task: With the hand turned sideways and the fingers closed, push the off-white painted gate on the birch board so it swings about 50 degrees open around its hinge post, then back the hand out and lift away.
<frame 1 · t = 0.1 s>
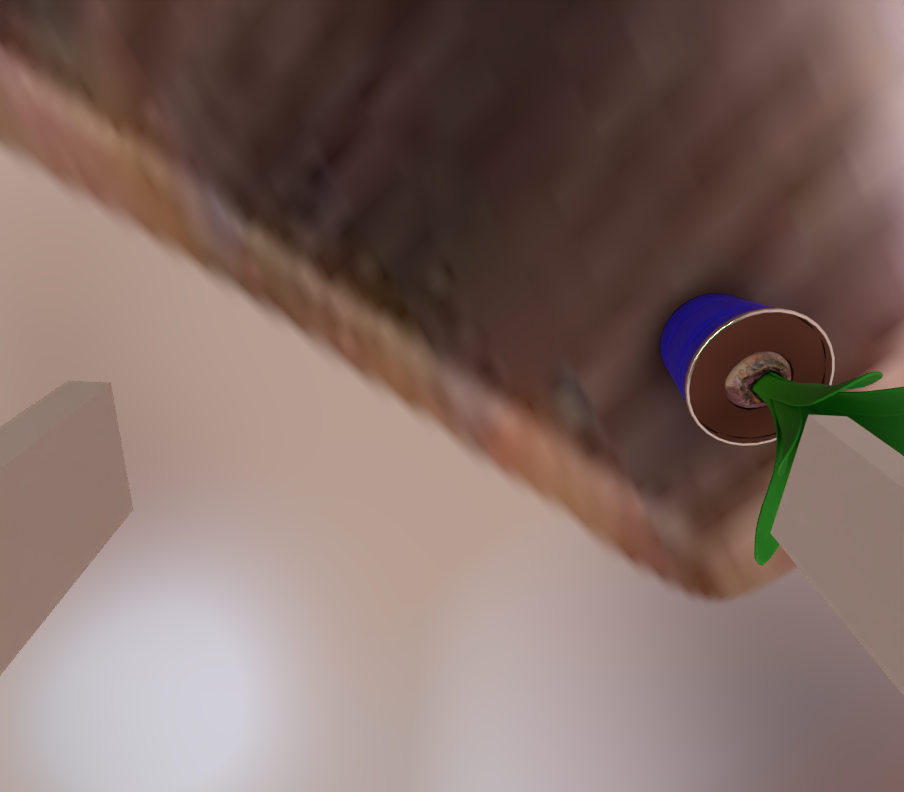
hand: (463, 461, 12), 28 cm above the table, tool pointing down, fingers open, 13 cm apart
hyacinth: (696, 345, 41), on the table
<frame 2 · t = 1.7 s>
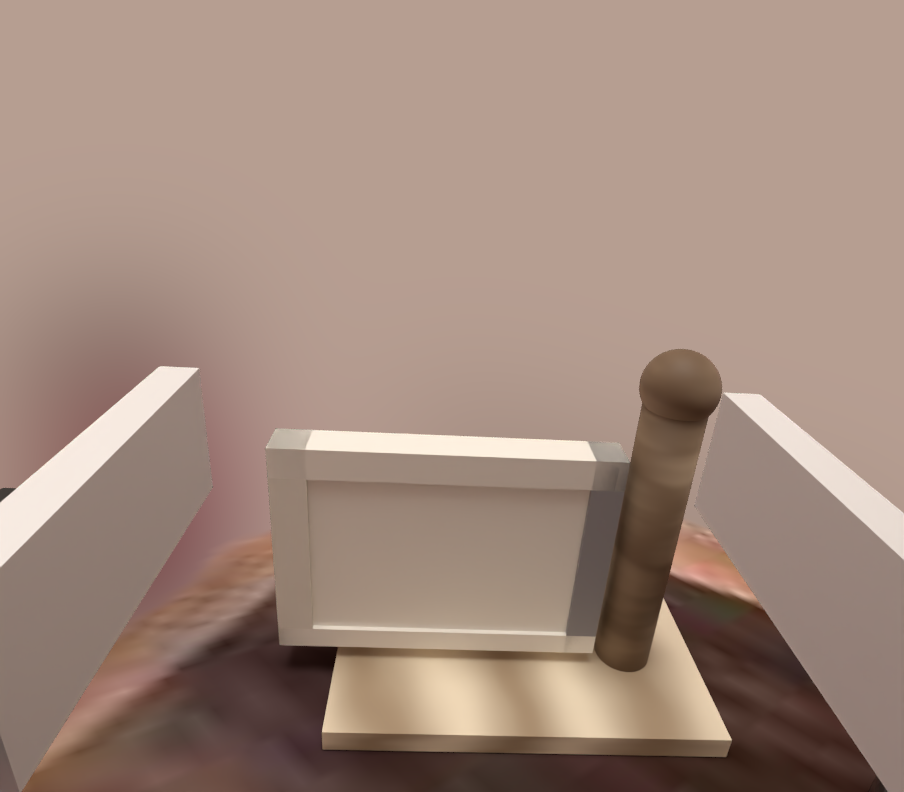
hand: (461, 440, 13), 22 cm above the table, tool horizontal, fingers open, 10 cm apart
gate: (443, 547, 32), point 8 cm above the table, hinge at 0.0°
gate frame: (617, 666, 35), on the table
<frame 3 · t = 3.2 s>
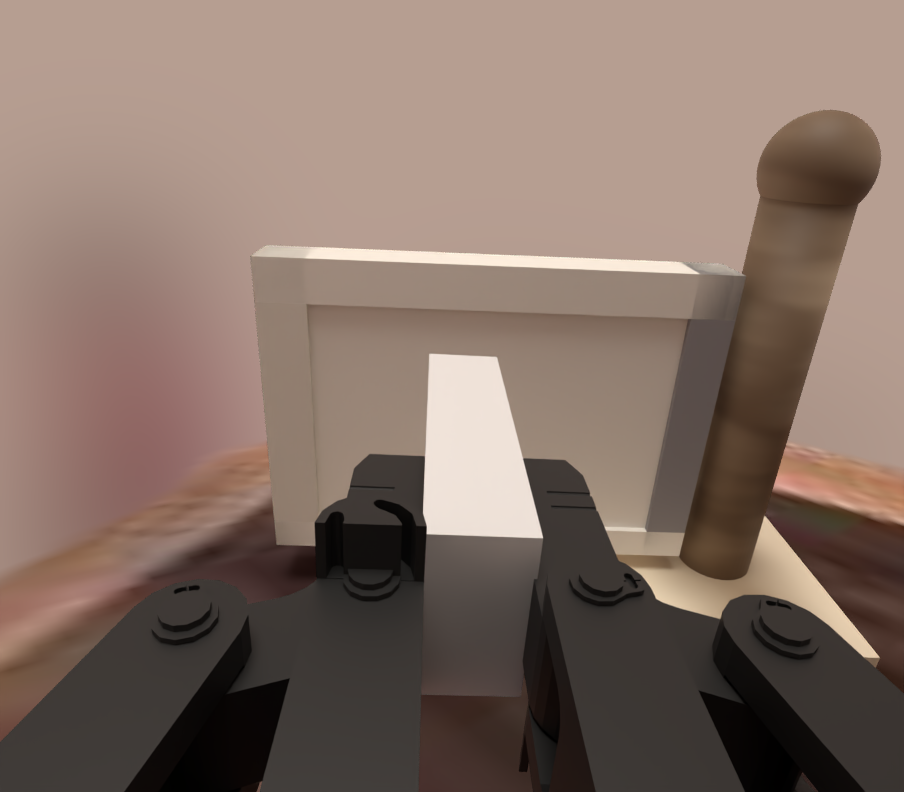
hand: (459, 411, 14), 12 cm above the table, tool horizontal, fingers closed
gate: (487, 411, 24), point 8 cm above the table, hinge at 0.0°
gate frame: (706, 578, 28), on the table
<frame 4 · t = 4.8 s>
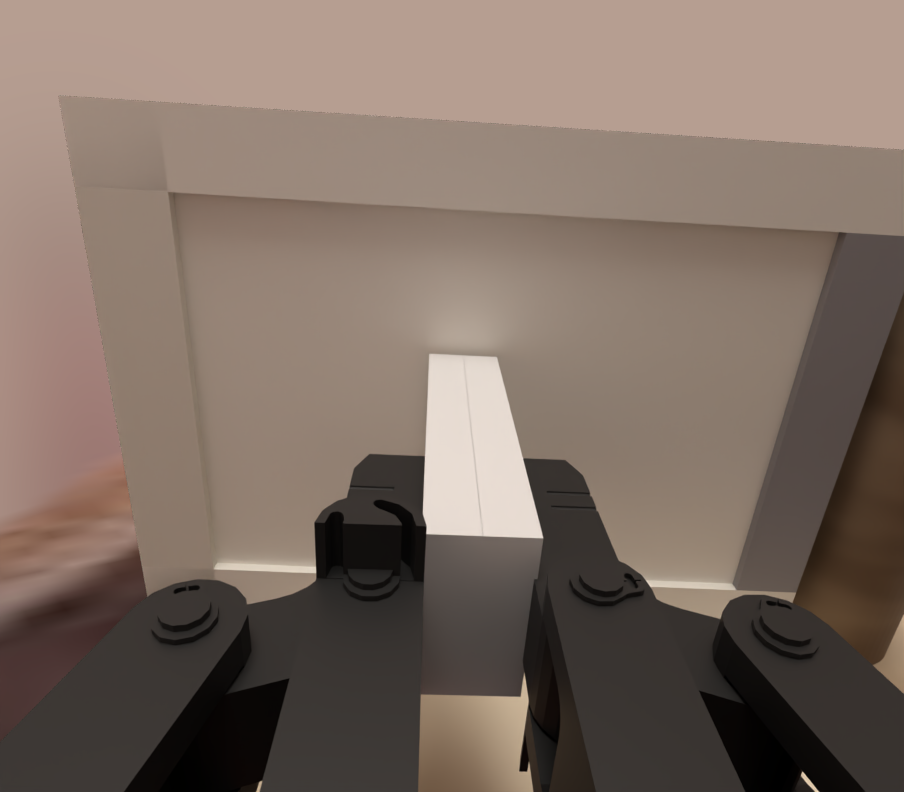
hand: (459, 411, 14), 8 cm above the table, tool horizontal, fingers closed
gate: (487, 394, 15), point 8 cm above the table, hinge at 0.4°, touching gripper
gate frame: (813, 656, 18), on the table
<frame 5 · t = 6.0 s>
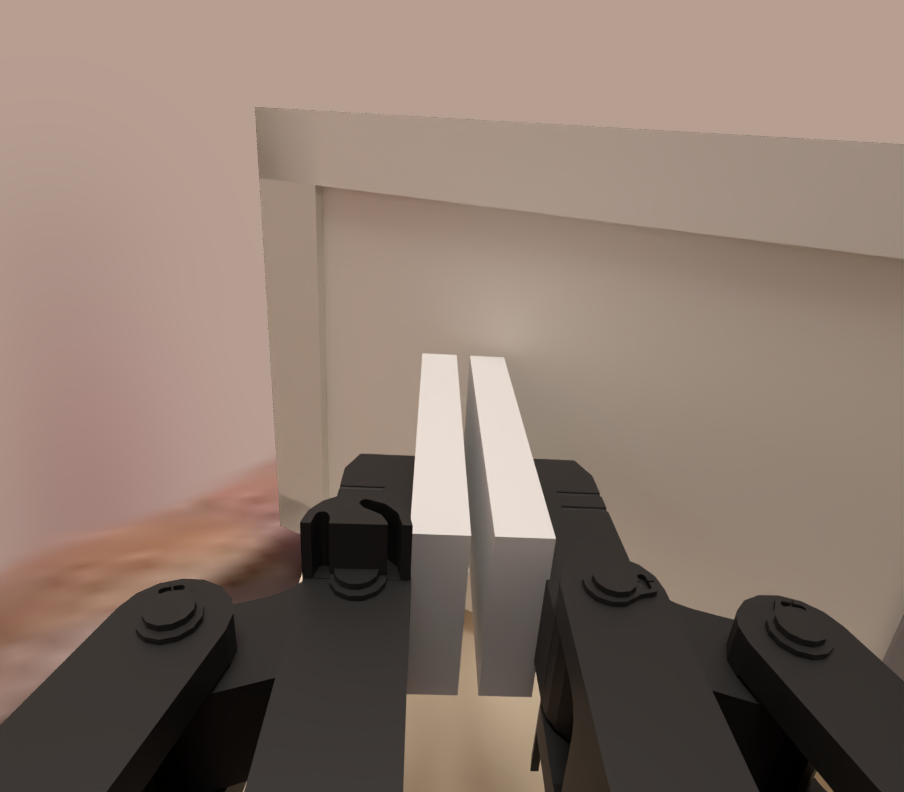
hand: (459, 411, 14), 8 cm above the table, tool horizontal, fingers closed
gate: (573, 412, 14), point 8 cm above the table, hinge at 30.3°, touching gripper
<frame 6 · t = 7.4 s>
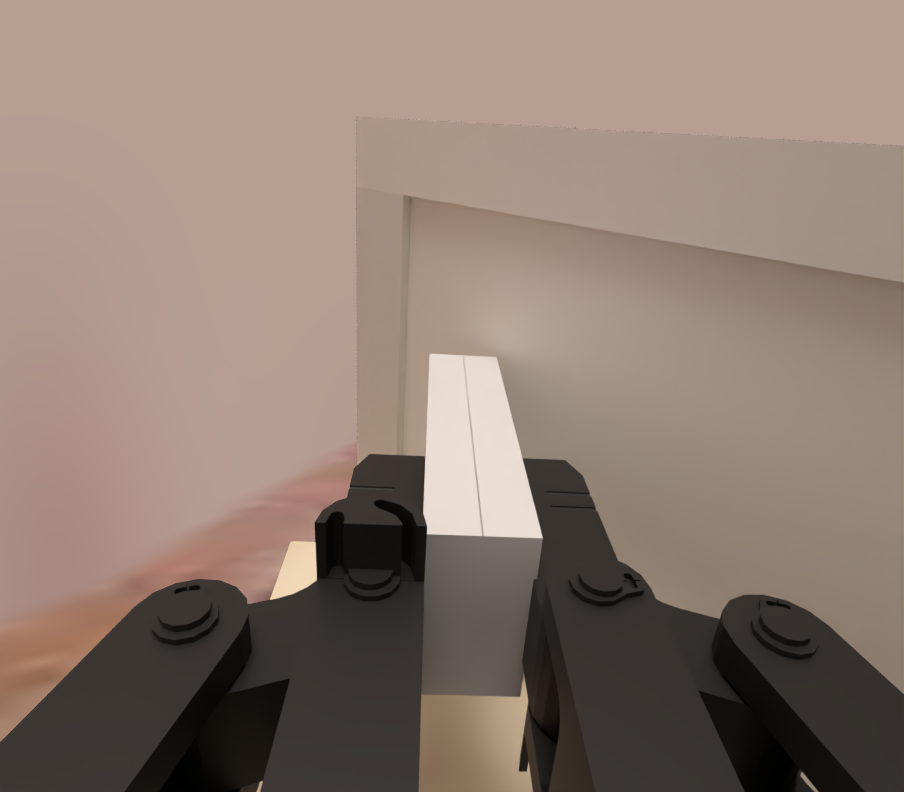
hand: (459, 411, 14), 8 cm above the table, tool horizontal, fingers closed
gate: (651, 460, 12), point 8 cm above the table, hinge at 46.6°, touching gripper
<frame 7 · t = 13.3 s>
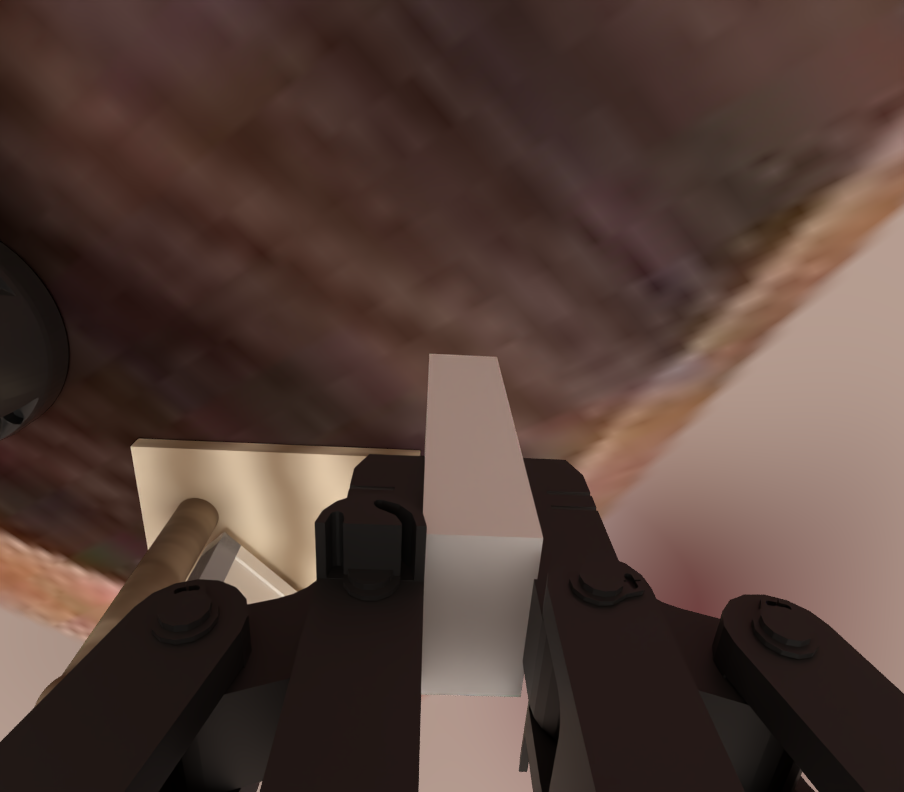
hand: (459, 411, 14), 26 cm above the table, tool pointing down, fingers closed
gate: (281, 670, 42), point 8 cm above the table, hinge at 46.6°
gate frame: (203, 506, 46), on the table
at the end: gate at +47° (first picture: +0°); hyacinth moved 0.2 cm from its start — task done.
